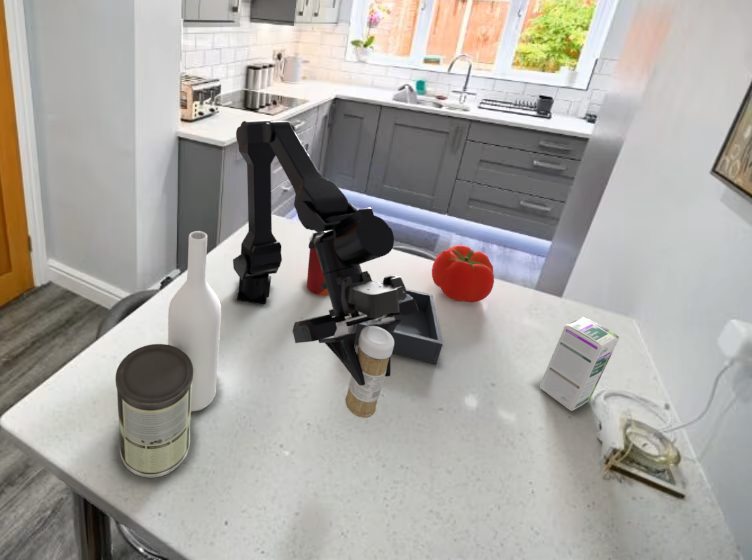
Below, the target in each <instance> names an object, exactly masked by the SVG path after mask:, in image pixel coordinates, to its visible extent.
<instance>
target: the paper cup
mask: <svg viewBox="0 0 752 560" xmlns="http://www.w3.org/2000/svg"><path fill="white" fill-rule="evenodd" d="M329 231H331V230H329ZM315 232H316V231H314V230H313V232H312V233H311V234H310V236H309V239H308V240H309V242H310V241H311V239H312V237H313V233H315ZM325 232H328V231H325ZM323 282H325V280H324V276H323V273H322V269H321V266H320V262H319V259H318V255H317V252H316V248H314V249H309V254H308V266H307V276H306V289H307V290H308V291H309V292H310V293H311V294H313V295H315V296H319V297H320V296H321V297H323V296H327V295H329V294H328V290H327V289H324V290H323V289H322V286H321V283H323Z"/></svg>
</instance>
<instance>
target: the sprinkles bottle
mask: <svg viewBox="0 0 752 560" xmlns="http://www.w3.org/2000/svg"><path fill="white" fill-rule="evenodd" d="M358 344H359V345H358V346H357V350H356V352H357V356H358V359H359V362H360V365H361V368H362V372H363V376H364V381H365V385H363V386H361V385H359V384H358V383H357V382H356V381H355V379H354V378H353V377H352V375H351V374H350V378H349V381H348V388H347V393H346V395H345V398H344V402H345V406H346V408H347V410H348V411H349V412H350V413H351V414H352V415H354V416H355V417H358V418H361V419H368V418H371V417H372V416H374V414H375V413H376V411H377V410H376V409H377V404H378V399H379V397H380V394H381V392H382V389H383V384H384V380H385V378H386V377H385V374H386V370H387V364H388V360H389V358H390V356H391V357H392V354H393V353H392V351H393V347H394V339H393V337H392V335H391V334H390V333H389V332H388V331H386V330H385V329H383V328H380V327H377V326H368V327H365V328H363V329H362V331H361V333H360V337H359V341H358Z"/></svg>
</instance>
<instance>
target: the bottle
mask: <svg viewBox="0 0 752 560" xmlns="http://www.w3.org/2000/svg"><path fill="white" fill-rule="evenodd" d="M207 250H208V234H207V233H206V232H205V231H202V230H195V231H192V232H190V233H189V234H188V250H187V251H188V253H187V273H186V280H185V282H184V283H183V284H182V285H181V287H180V288H179V289H178V290H177V291H176V293H175V294H174V295H173V297H172V298H171V300H170V302H169V306H168V312H167V314H168V316H167V318H168V319H167V345H171V346H174V347H176V348H178V349H180V350H182V351H183V352H184V353H185V354H186V355H187V356H188V357H189V358H190V360H191V362H192V365H193V380H192V391H191V412H197V411H201V410H203V409H205V408H207V407H208V406H210V404H212V402H213V400H214V399H215V396H216V393H217V381H218V364H219V353H220V352H219V351H220V338H221V336H220V335H221V323H222V305H221V304H222V303H221V301H220V299H219V297H218V295H217V294H216V292H215V291H214V290H213V289H212V287H211V286H210V284H209V283H208V281H207Z"/></svg>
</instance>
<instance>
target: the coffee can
mask: <svg viewBox="0 0 752 560" xmlns="http://www.w3.org/2000/svg"><path fill="white" fill-rule="evenodd" d="M192 380H193V365H192V362H191V360H190V358H189V357H188V356H187V355H186V354H185V353H184V352H183V351H182V350H180V349H178V348H176V347H174V346H171V345H168V344H166V343H154V344H147V345H144V346H140V347H138V348H136V349H134V350H132V351H131V352H130V353H127V355H126V356H125V357H124V358H122V360H121V362H120V363H119V365H118V366H117V369H116V372H115V387H116V395H117V414H118V416H117V417H118V436H119V454H120V459H121V461H122V463H123V465H124V466H125V468H126V469H127V470H128V471H130V472H131V473H133V474H134V475H136V476H139V477H142V478H147V479H153V478H160V477H163V476H166V475H168V474H170V473H172V472H173V471H175V470H176V469H177V468H179V467H180V465H181V464H182V463H183V462H184V460H185V459H186V457H187V455H188V454H189V450H190V446H191V415H192V414H191V413H192V411H191V391H192Z"/></svg>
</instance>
